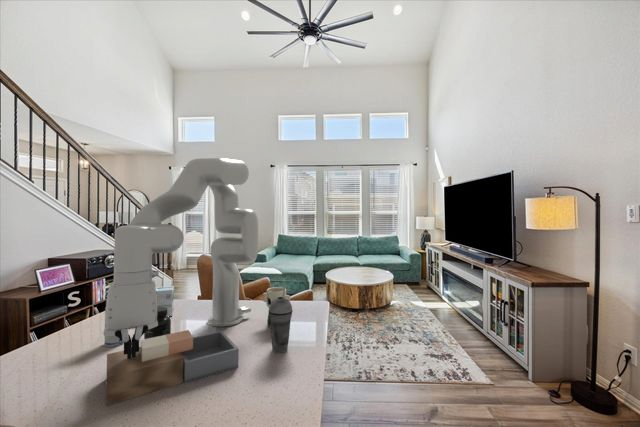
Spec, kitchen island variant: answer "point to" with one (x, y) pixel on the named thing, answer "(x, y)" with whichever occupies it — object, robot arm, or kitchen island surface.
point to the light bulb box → (166, 298)
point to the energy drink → (112, 340)
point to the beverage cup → (280, 322)
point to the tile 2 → (180, 342)
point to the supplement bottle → (160, 324)
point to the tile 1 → (154, 348)
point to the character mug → (273, 297)
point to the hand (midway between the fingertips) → (131, 355)
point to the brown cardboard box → (140, 375)
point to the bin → (209, 357)
